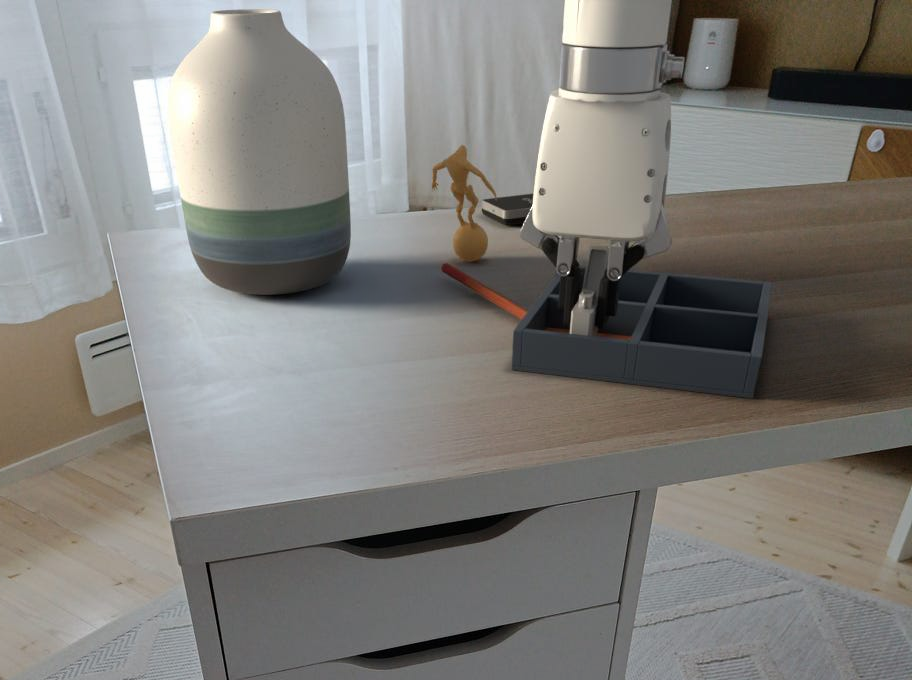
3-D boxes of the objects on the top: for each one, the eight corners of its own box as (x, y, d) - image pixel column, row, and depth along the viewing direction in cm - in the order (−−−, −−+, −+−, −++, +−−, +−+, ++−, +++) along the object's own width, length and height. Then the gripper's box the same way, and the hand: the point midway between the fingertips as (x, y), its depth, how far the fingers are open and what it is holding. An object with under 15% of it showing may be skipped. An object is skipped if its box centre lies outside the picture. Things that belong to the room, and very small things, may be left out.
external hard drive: (579, 218, 118) (580, 202, 117) (503, 228, 115) (504, 211, 114) (551, 207, 123) (552, 191, 122) (478, 216, 120) (479, 199, 119)
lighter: (586, 364, 78) (596, 266, 73) (566, 361, 78) (575, 264, 73) (601, 335, 83) (612, 243, 78) (583, 333, 83) (591, 241, 78)
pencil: (439, 265, 97) (446, 260, 97) (442, 274, 98) (449, 268, 98) (540, 326, 84) (549, 320, 84) (544, 335, 85) (552, 329, 85)
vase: (322, 252, 107) (303, 3, 92) (378, 293, 95) (366, 13, 80) (178, 271, 101) (133, 9, 87) (219, 317, 89) (174, 21, 74)
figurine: (510, 262, 103) (515, 143, 96) (481, 275, 99) (484, 153, 92) (449, 251, 107) (450, 135, 100) (419, 263, 103) (417, 144, 96)
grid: (764, 318, 88) (772, 282, 86) (752, 398, 73) (762, 357, 71) (561, 298, 93) (563, 263, 91) (511, 370, 78) (513, 330, 76)
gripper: (725, 70, 68) (685, 317, 80) (518, 64, 73) (508, 299, 84) (716, 83, 63) (674, 347, 74) (493, 75, 67) (485, 326, 78)
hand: (586, 320), depth 79 cm, fingers closed
